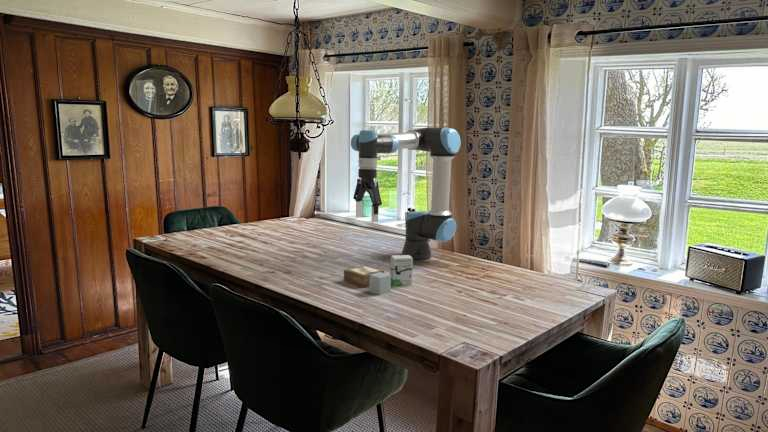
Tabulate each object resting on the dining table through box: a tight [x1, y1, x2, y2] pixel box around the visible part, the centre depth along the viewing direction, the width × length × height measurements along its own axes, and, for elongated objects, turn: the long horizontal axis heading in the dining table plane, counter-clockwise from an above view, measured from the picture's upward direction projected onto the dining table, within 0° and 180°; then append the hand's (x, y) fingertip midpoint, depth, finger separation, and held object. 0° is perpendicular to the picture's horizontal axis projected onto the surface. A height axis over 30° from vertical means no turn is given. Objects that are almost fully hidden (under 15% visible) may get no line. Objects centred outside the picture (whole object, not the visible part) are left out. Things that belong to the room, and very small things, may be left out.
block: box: [368, 272, 392, 296], centre depth 212 cm, size 6×6×7 cm
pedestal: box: [343, 265, 385, 289], centre depth 224 cm, size 12×12×5 cm
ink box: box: [389, 254, 414, 287], centre depth 222 cm, size 9×5×12 cm, turn 105°
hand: (366, 219), depth 222 cm, fingers open, 13 cm apart
